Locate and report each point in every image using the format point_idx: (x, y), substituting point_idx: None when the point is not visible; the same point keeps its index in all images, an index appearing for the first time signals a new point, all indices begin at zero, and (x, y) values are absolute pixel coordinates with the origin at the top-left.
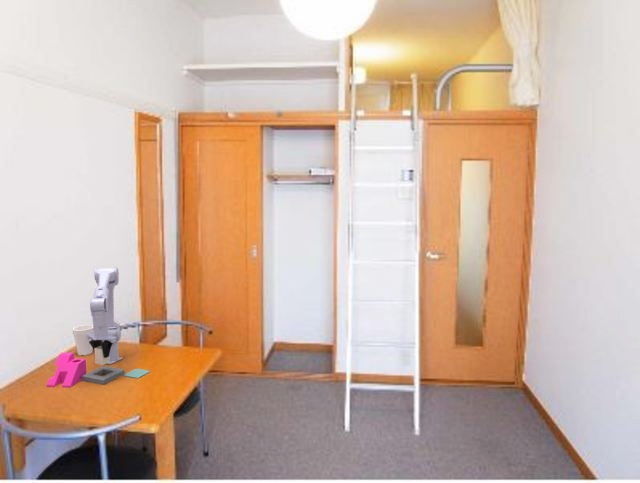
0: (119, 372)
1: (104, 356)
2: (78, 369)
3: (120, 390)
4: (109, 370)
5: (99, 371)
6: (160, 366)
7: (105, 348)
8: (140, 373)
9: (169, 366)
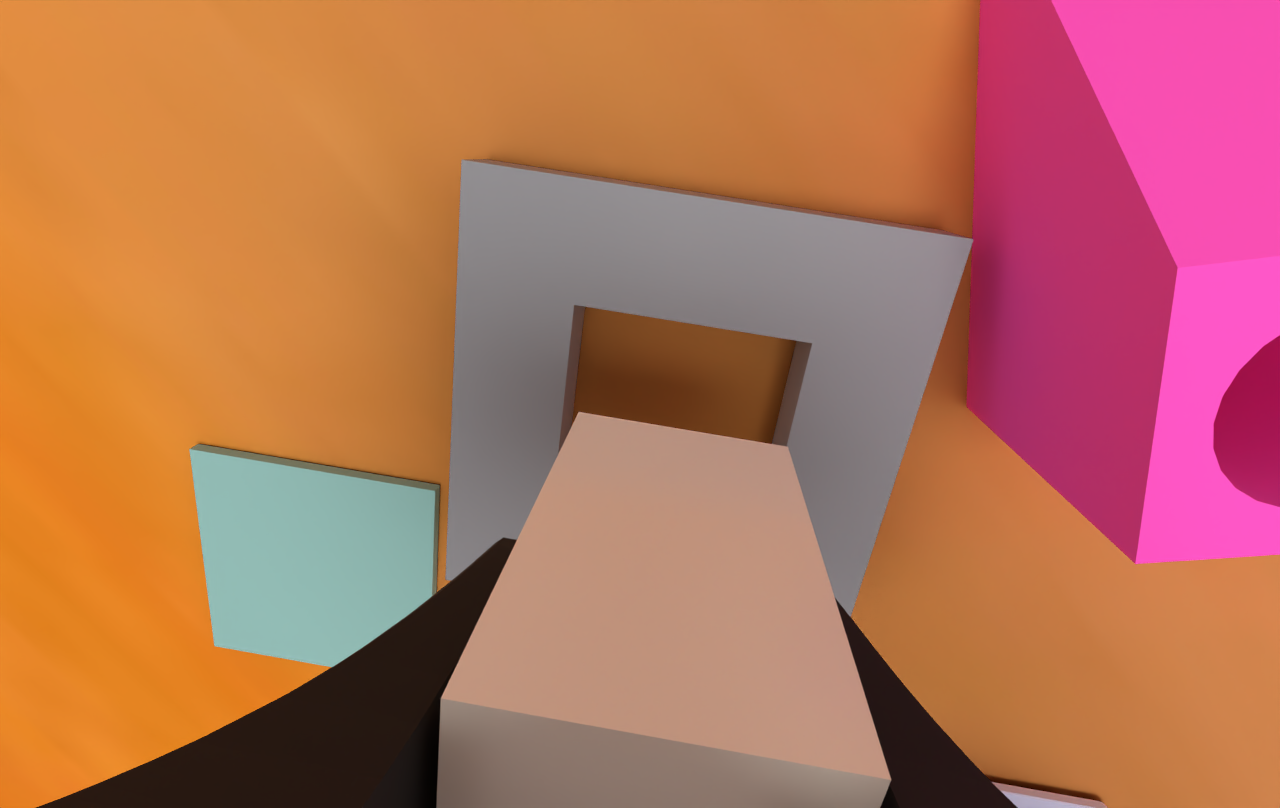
0: (449, 489)
1: (498, 553)
2: (1086, 216)
3: (93, 30)
4: None
5: None
6: None
7: (221, 739)
8: (268, 569)
9: None
